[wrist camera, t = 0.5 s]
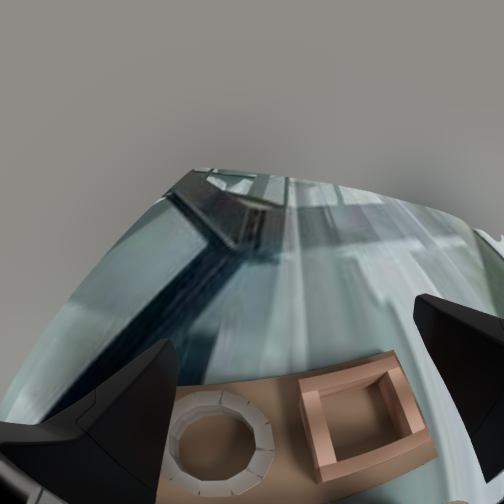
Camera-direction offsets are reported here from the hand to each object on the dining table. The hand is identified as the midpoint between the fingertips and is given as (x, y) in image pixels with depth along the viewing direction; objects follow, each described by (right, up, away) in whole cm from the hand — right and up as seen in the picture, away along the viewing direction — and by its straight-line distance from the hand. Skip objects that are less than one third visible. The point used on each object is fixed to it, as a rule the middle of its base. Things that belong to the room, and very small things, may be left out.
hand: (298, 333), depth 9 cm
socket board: (+1, -12, +9) cm, 15 cm away
